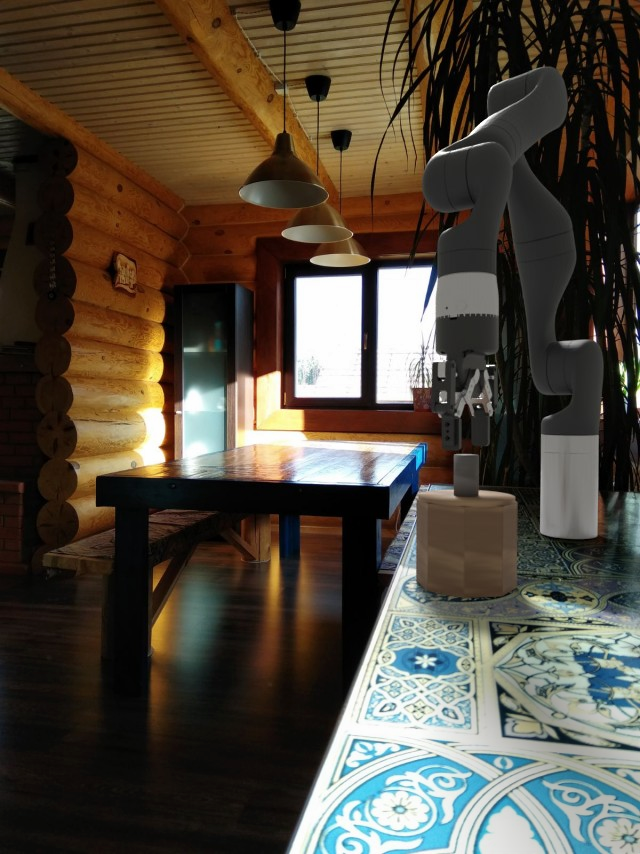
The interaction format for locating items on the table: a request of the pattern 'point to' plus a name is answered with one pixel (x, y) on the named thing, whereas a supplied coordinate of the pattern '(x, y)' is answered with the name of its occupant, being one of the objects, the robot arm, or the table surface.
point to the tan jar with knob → (466, 537)
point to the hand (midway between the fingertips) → (466, 447)
